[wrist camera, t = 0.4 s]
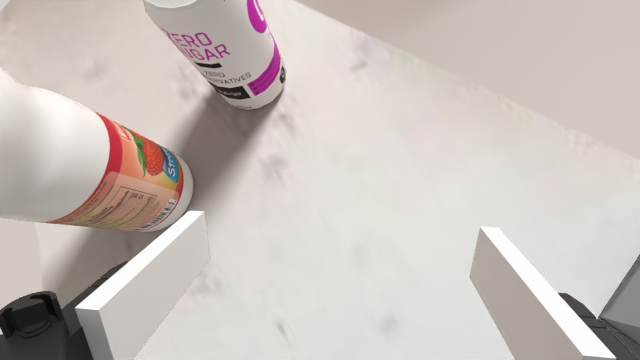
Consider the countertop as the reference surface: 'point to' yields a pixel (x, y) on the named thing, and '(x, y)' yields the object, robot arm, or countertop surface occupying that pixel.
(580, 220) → the countertop surface
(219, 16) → the supplement can
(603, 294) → the countertop surface
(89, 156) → the fruit juice
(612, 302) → the parts tub
